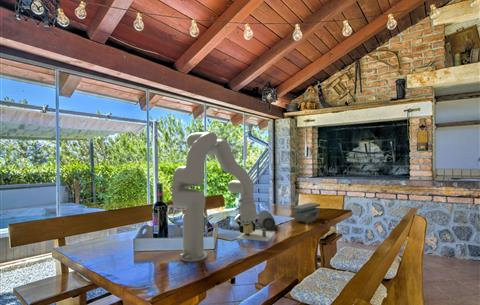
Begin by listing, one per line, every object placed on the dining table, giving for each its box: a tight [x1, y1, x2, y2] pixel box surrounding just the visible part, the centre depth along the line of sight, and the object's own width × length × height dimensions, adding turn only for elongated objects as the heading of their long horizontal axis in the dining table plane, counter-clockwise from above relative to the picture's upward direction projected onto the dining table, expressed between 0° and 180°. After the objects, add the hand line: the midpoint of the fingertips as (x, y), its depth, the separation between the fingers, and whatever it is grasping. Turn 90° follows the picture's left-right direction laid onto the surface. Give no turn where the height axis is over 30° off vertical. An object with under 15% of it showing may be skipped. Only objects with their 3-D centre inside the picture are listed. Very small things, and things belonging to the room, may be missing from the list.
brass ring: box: [242, 222, 254, 233], centre depth 166 cm, size 7×7×4 cm
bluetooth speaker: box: [258, 210, 276, 231], centre depth 187 cm, size 23×9×10 cm, turn 2°
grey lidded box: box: [291, 202, 321, 224], centre depth 206 cm, size 25×8×11 cm, turn 135°
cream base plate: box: [236, 227, 276, 242], centre depth 166 cm, size 20×18×6 cm
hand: (247, 231), depth 166 cm, fingers closed on brass ring, 6 cm apart
